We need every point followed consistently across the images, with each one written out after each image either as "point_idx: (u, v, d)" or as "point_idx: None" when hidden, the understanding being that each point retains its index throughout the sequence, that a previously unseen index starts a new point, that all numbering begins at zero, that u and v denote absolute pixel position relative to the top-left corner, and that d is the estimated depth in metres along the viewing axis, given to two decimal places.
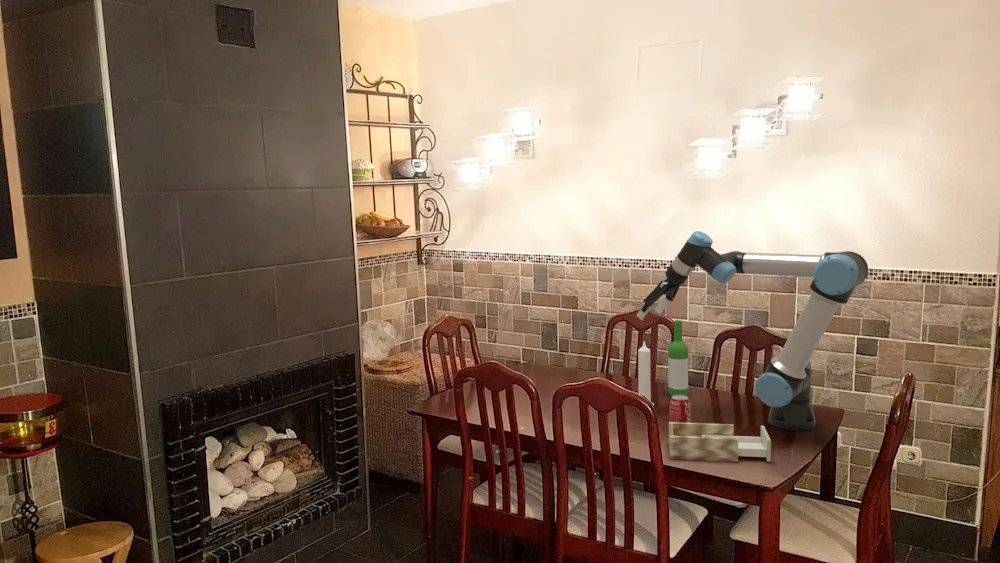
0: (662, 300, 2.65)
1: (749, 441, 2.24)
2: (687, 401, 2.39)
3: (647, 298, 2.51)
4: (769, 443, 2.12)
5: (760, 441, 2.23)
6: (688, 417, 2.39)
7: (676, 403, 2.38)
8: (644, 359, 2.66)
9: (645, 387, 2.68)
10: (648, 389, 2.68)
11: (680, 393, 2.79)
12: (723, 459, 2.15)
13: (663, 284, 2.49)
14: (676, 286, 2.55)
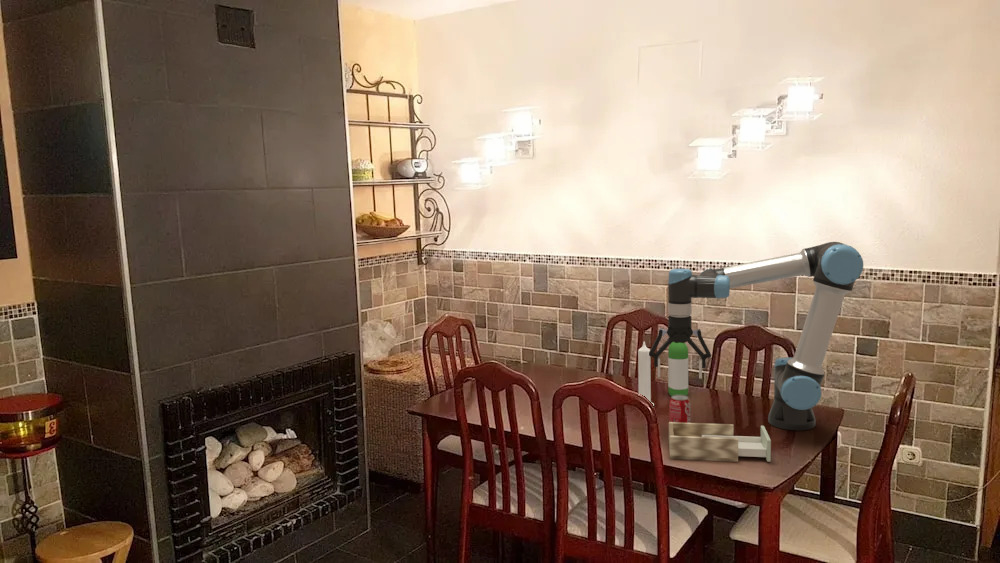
0: (699, 362, 2.39)
1: (749, 441, 2.24)
2: (687, 401, 2.39)
3: None
4: (769, 443, 2.12)
5: (760, 441, 2.23)
6: (688, 417, 2.39)
7: (676, 403, 2.38)
8: (644, 359, 2.66)
9: (645, 387, 2.68)
10: (648, 389, 2.68)
11: (680, 393, 2.79)
12: (723, 459, 2.15)
13: (659, 330, 2.39)
14: (685, 334, 2.36)
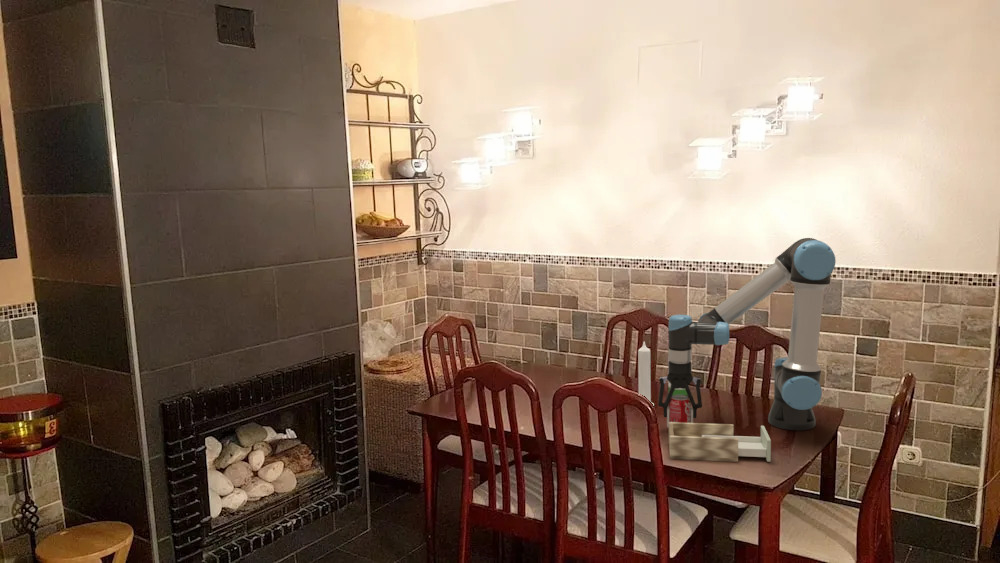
0: None
1: (749, 441, 2.24)
2: (687, 401, 2.39)
3: None
4: (769, 443, 2.12)
5: (760, 441, 2.23)
6: (688, 417, 2.39)
7: (676, 403, 2.38)
8: (644, 359, 2.66)
9: (645, 387, 2.68)
10: (648, 389, 2.68)
11: (680, 393, 2.79)
12: (723, 459, 2.15)
13: (659, 379, 2.41)
14: (685, 381, 2.38)
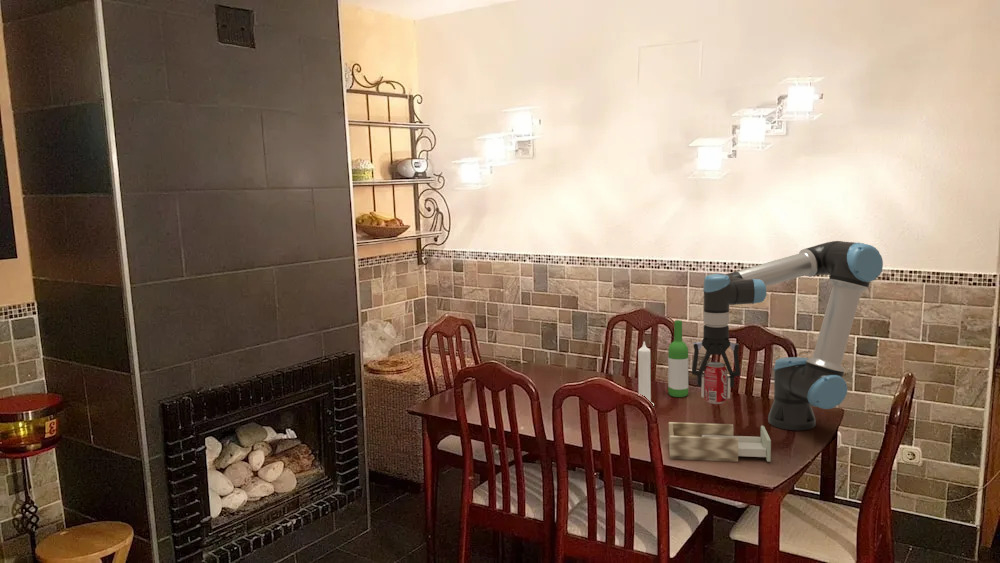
0: None
1: (749, 441, 2.24)
2: (724, 368, 2.19)
3: (692, 367, 2.24)
4: (769, 443, 2.12)
5: (760, 441, 2.23)
6: (724, 386, 2.20)
7: (712, 370, 2.19)
8: (644, 359, 2.66)
9: (645, 387, 2.68)
10: (648, 389, 2.68)
11: (680, 393, 2.79)
12: (723, 459, 2.15)
13: None
14: (721, 346, 2.18)
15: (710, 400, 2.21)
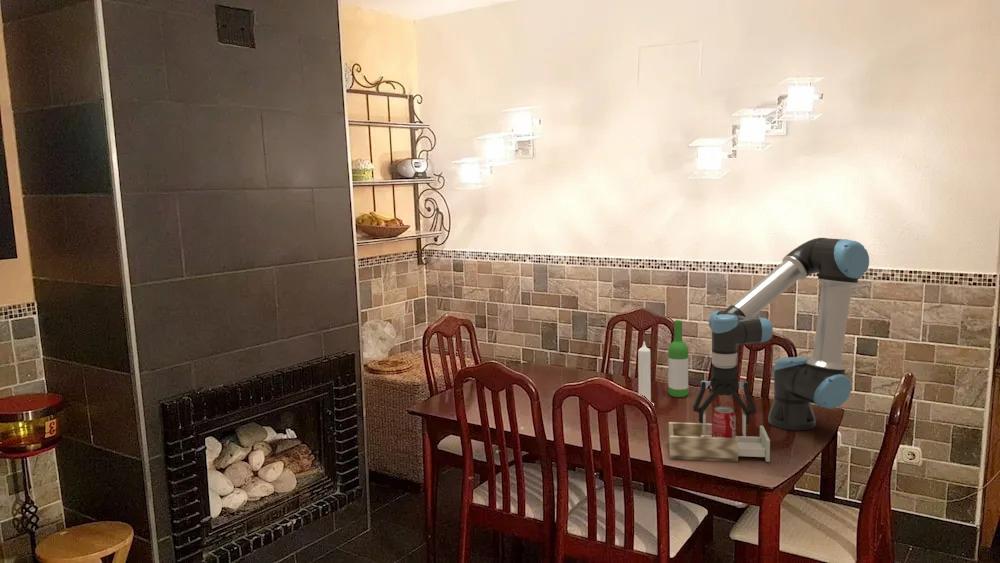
0: (742, 417, 2.20)
1: (748, 441, 2.24)
2: (732, 414, 2.18)
3: (694, 403, 2.22)
4: (768, 443, 2.12)
5: (759, 441, 2.23)
6: (733, 431, 2.18)
7: (720, 416, 2.17)
8: (644, 359, 2.66)
9: (645, 387, 2.68)
10: (648, 389, 2.68)
11: (680, 393, 2.79)
12: (723, 459, 2.15)
13: (701, 382, 2.20)
14: (730, 386, 2.17)
15: None
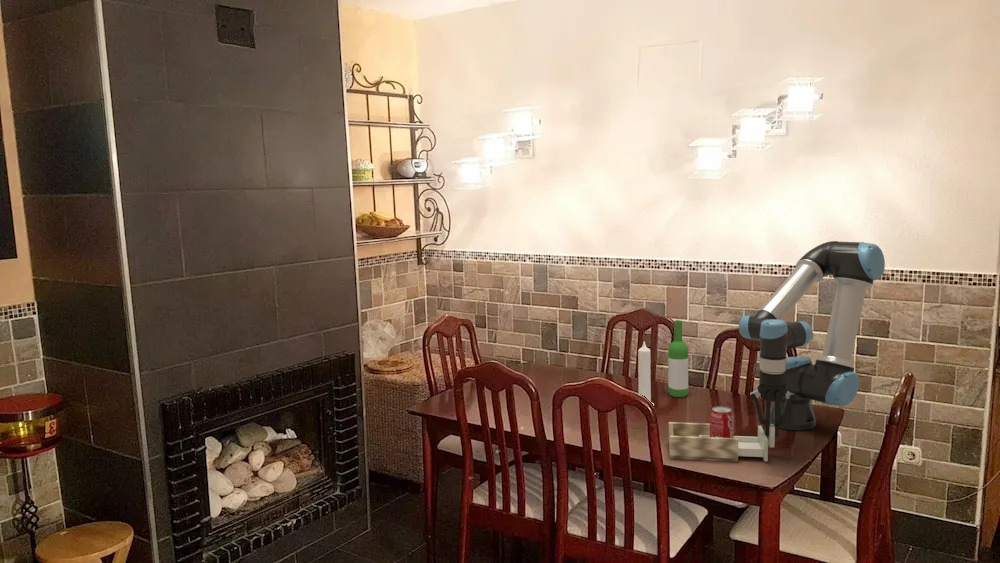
0: None
1: (746, 441, 2.24)
2: (730, 414, 2.18)
3: None
4: (766, 443, 2.12)
5: (757, 441, 2.24)
6: (731, 431, 2.18)
7: (718, 416, 2.17)
8: (644, 359, 2.66)
9: (645, 387, 2.68)
10: (648, 389, 2.68)
11: (680, 393, 2.79)
12: (723, 459, 2.15)
13: None
14: (779, 393, 2.14)
15: None
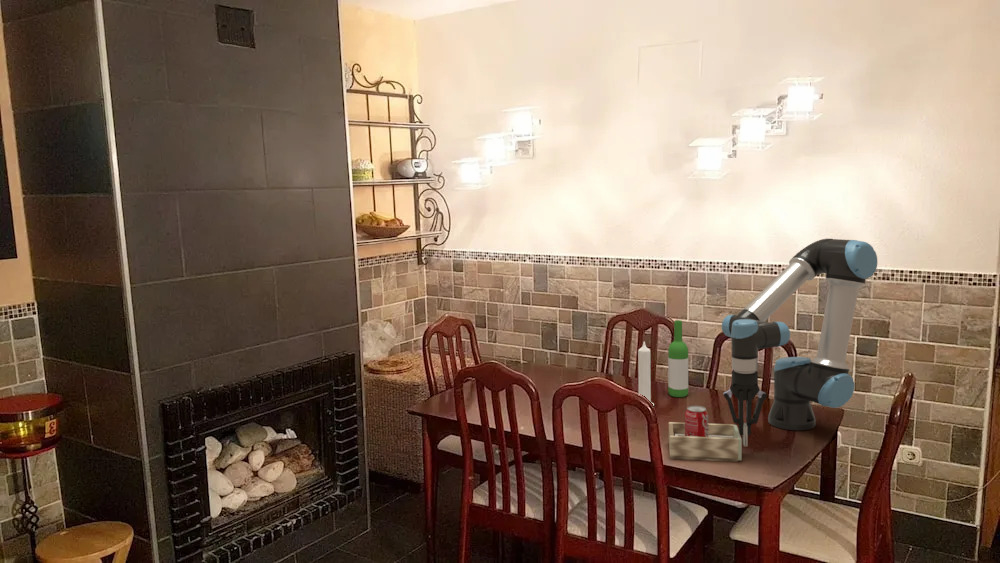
0: None
1: None
2: (705, 413, 2.19)
3: None
4: (740, 442, 2.14)
5: None
6: (706, 430, 2.20)
7: (693, 415, 2.19)
8: (644, 359, 2.66)
9: (645, 387, 2.68)
10: (648, 389, 2.68)
11: (680, 393, 2.79)
12: (723, 459, 2.15)
13: None
14: (751, 393, 2.15)
15: None
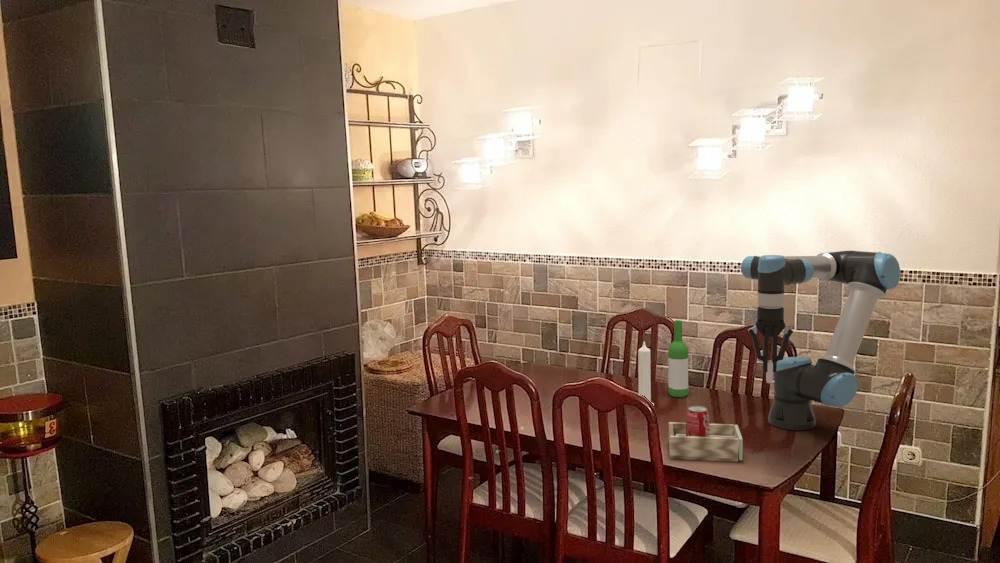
0: None
1: None
2: (706, 413, 2.19)
3: None
4: (741, 442, 2.14)
5: None
6: (707, 430, 2.20)
7: (694, 415, 2.19)
8: (644, 359, 2.66)
9: (645, 387, 2.68)
10: (648, 389, 2.68)
11: (680, 393, 2.79)
12: (723, 459, 2.15)
13: None
14: (777, 328, 2.14)
15: None
